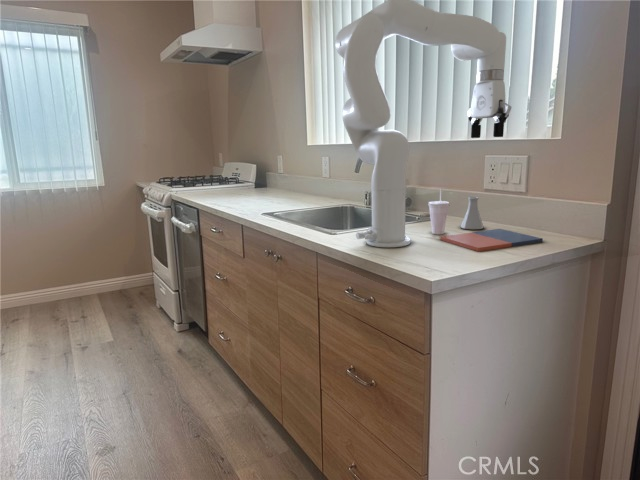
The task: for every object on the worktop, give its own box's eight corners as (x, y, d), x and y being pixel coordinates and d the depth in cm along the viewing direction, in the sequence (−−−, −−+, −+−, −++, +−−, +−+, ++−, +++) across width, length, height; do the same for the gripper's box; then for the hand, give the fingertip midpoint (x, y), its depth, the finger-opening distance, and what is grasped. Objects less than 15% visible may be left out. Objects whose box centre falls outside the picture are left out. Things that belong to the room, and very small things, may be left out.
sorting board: (478, 251, 111) (478, 247, 111) (440, 239, 126) (440, 236, 126) (542, 241, 119) (542, 238, 119) (499, 231, 134) (499, 228, 133)
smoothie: (445, 235, 131) (446, 189, 128) (424, 234, 134) (425, 189, 131) (451, 231, 136) (452, 187, 133) (431, 230, 139) (432, 187, 136)
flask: (485, 230, 137) (487, 198, 134) (461, 230, 138) (462, 199, 136) (481, 225, 144) (483, 195, 141) (459, 225, 145) (460, 196, 143)
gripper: (460, 82, 135) (458, 138, 138) (501, 73, 119) (497, 136, 123) (480, 82, 137) (476, 138, 141) (522, 74, 122) (517, 136, 125)
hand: (486, 137), depth 132 cm, fingers open, 9 cm apart
